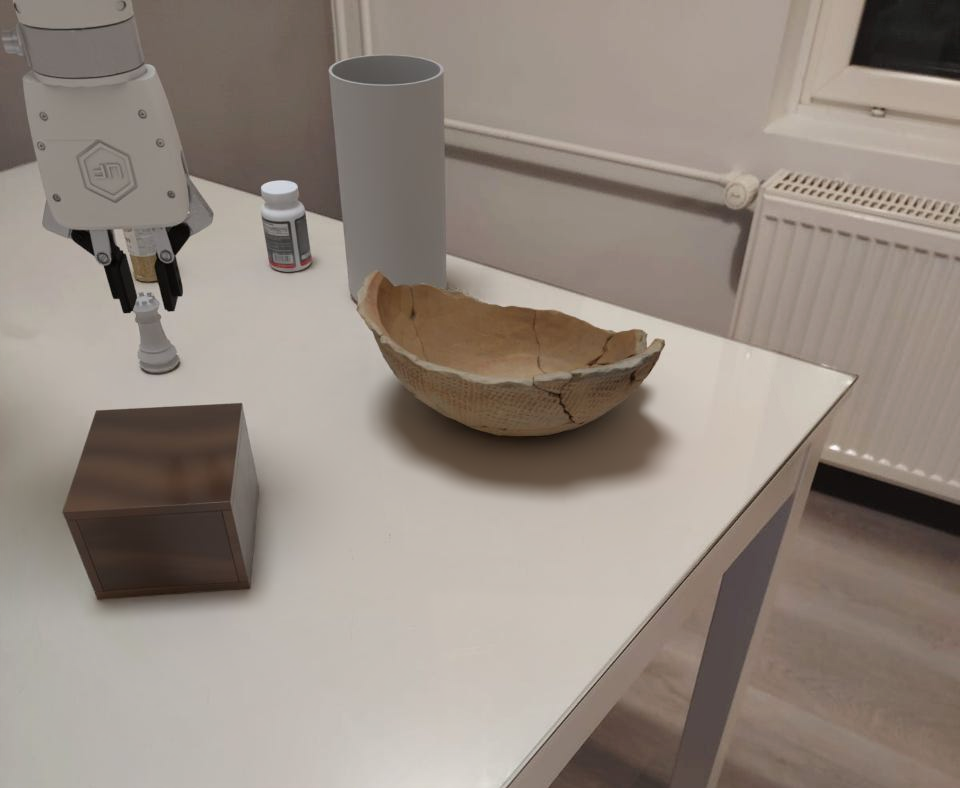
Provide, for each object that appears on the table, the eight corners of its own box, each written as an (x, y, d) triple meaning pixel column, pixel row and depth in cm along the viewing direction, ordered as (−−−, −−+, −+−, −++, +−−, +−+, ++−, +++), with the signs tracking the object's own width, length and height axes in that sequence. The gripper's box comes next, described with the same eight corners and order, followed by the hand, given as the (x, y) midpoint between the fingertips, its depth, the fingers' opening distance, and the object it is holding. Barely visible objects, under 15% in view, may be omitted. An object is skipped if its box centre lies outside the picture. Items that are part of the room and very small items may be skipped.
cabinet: (123, 494, 85) (95, 410, 78) (258, 486, 86) (242, 402, 80) (96, 599, 75) (61, 512, 68) (250, 588, 76) (230, 501, 69)
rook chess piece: (188, 362, 103) (172, 294, 97) (159, 378, 100) (140, 309, 94) (161, 351, 104) (143, 283, 98) (131, 367, 102) (111, 298, 96)
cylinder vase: (337, 309, 112) (313, 81, 94) (364, 268, 121) (347, 51, 103) (435, 319, 111) (429, 88, 93) (455, 276, 119) (453, 58, 101)
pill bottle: (299, 252, 124) (289, 175, 117) (319, 266, 121) (310, 188, 114) (261, 262, 122) (249, 184, 115) (281, 277, 119) (269, 198, 111)
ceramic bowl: (638, 329, 105) (656, 207, 93) (657, 500, 90) (681, 381, 78) (384, 330, 106) (368, 209, 94) (361, 499, 91) (338, 381, 79)
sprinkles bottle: (131, 272, 119) (102, 162, 109) (166, 266, 120) (140, 157, 111) (138, 285, 116) (108, 174, 107) (173, 279, 118) (147, 169, 108)
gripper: (-54, 65, 59) (41, 330, 72) (199, 61, 60) (247, 321, 73) (-23, 37, 64) (60, 289, 77) (209, 34, 65) (252, 282, 79)
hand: (150, 303), depth 75 cm, fingers closed
